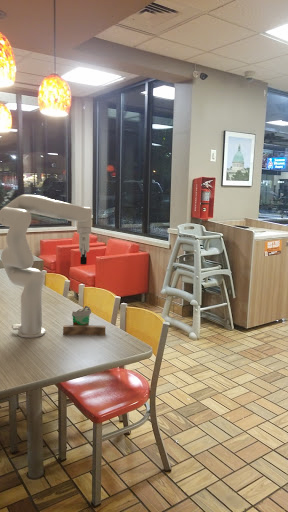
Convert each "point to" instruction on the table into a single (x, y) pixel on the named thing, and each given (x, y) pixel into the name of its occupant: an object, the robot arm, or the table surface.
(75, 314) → the food container
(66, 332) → the walnut board
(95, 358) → the table surface
